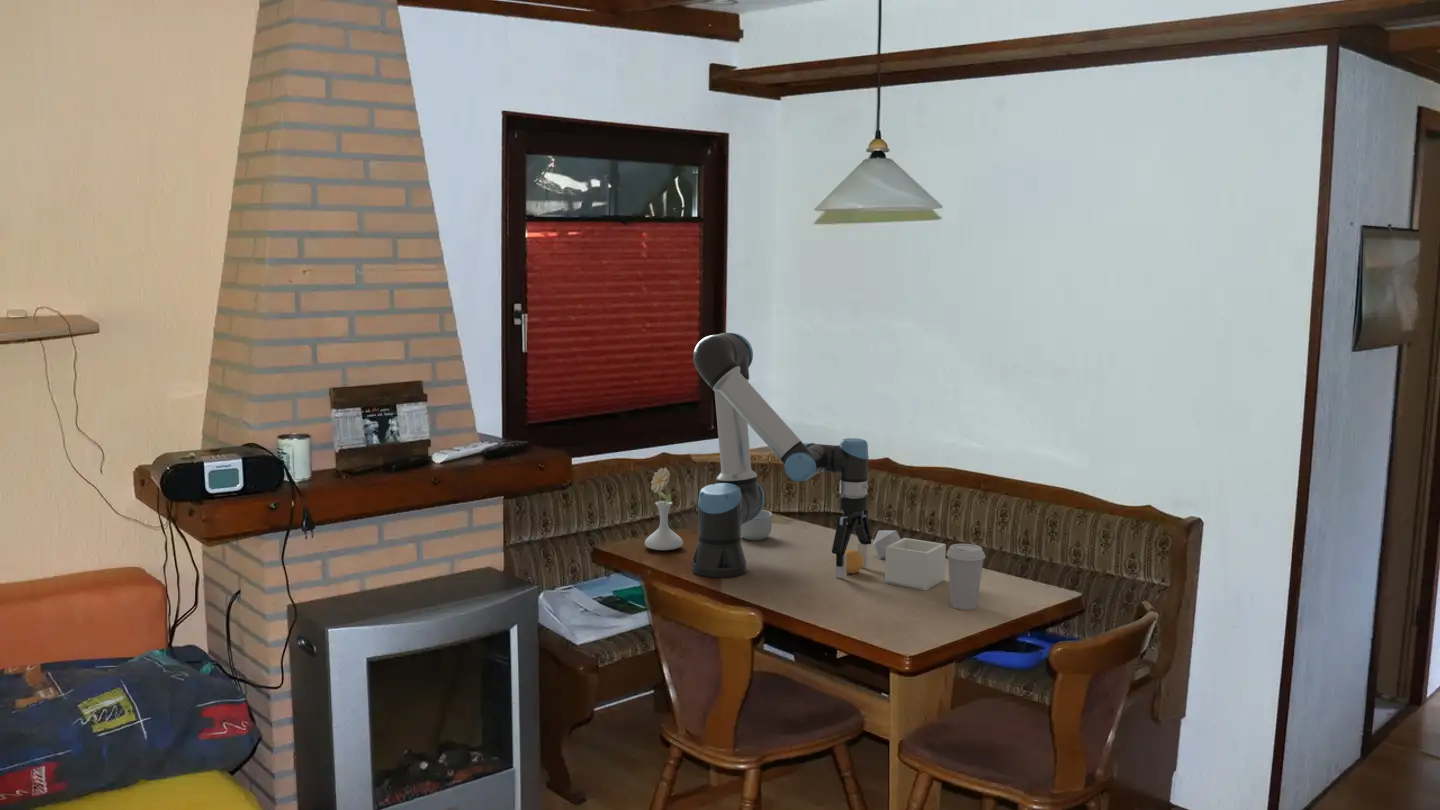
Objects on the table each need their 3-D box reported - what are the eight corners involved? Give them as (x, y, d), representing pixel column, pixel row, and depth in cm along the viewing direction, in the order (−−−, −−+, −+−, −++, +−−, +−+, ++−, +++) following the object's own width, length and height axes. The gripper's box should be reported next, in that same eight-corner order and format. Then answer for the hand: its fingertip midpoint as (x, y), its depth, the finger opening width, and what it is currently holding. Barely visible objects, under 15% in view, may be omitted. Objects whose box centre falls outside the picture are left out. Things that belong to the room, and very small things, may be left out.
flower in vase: (642, 544, 351) (641, 462, 347) (679, 542, 353) (679, 460, 350) (648, 556, 338) (647, 471, 335) (687, 554, 341) (687, 469, 337)
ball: (856, 577, 318) (857, 554, 317) (835, 573, 322) (835, 550, 321) (867, 572, 323) (867, 549, 323) (846, 568, 327) (846, 545, 326)
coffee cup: (936, 603, 295) (938, 545, 293) (965, 598, 300) (967, 541, 298) (962, 614, 287) (964, 554, 285) (991, 608, 292) (993, 549, 290)
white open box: (926, 590, 306) (927, 553, 305) (884, 583, 313) (885, 546, 311) (944, 580, 316) (945, 544, 315) (903, 573, 323) (904, 537, 321)
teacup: (778, 537, 362) (778, 511, 361) (760, 544, 353) (760, 518, 352) (739, 531, 370) (739, 506, 368) (721, 538, 360) (721, 512, 359)
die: (901, 556, 343) (883, 528, 345) (913, 548, 336) (895, 519, 338) (880, 569, 340) (862, 540, 342) (892, 561, 332) (873, 532, 334)
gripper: (845, 504, 307) (843, 584, 310) (885, 489, 328) (883, 564, 330) (819, 501, 311) (818, 580, 314) (861, 486, 332) (859, 560, 335)
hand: (851, 572), depth 322 cm, fingers open, 12 cm apart
